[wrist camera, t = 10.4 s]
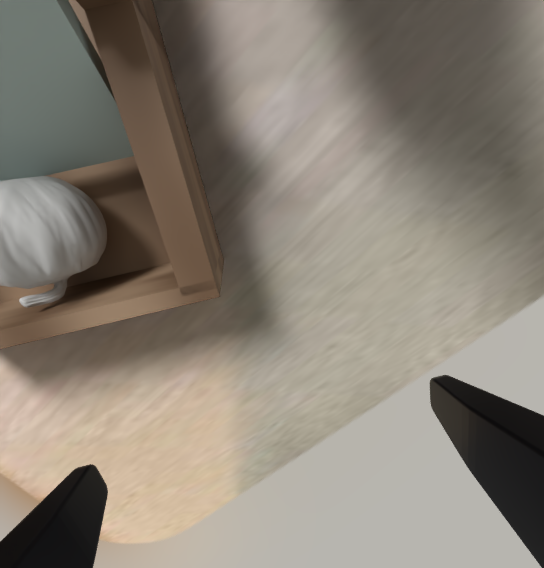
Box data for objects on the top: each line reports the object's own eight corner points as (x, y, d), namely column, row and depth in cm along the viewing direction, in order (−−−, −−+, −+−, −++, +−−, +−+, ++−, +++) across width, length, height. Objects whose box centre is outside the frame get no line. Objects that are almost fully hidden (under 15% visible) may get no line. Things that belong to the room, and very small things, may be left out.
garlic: (-127, 208, 11) (-40, 334, 13) (-15, 171, 10) (64, 317, 12) (24, 188, 16) (70, 279, 18) (109, 162, 15) (150, 263, 17)
